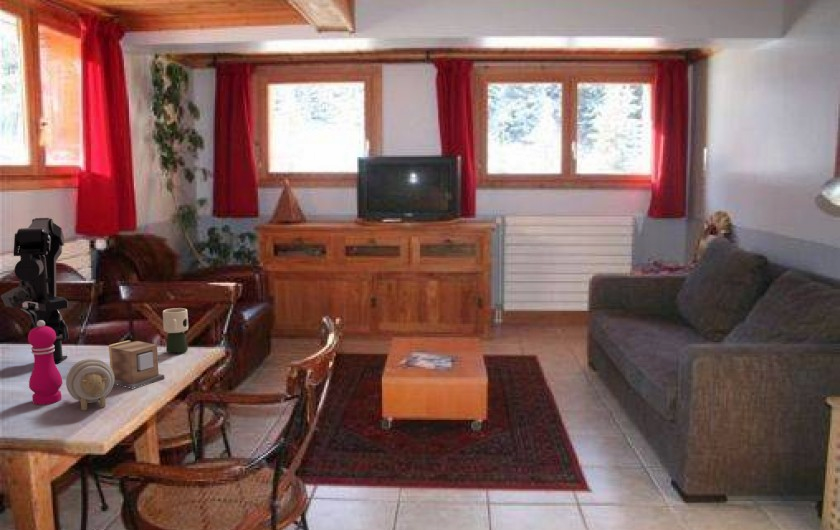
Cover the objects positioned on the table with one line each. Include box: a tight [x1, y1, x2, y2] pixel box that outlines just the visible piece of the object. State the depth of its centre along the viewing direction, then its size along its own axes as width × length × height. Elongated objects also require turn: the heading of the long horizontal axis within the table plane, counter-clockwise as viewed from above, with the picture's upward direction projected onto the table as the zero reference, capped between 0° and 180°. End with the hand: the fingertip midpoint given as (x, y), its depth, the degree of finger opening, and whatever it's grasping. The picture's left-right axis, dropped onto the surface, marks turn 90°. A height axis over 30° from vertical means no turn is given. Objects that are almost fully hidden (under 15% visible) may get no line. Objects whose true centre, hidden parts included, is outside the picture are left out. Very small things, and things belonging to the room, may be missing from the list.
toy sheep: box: [65, 357, 115, 412], centre depth 174 cm, size 11×17×11 cm, turn 35°
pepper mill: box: [27, 320, 63, 405], centre depth 176 cm, size 7×7×20 cm
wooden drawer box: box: [111, 340, 165, 389], centre depth 194 cm, size 18×10×9 cm, turn 59°
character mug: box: [162, 307, 189, 354], centre depth 220 cm, size 11×7×13 cm, turn 15°
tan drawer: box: [108, 340, 153, 371], centre depth 192 cm, size 11×6×7 cm, turn 59°
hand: (39, 332), depth 196 cm, fingers closed
